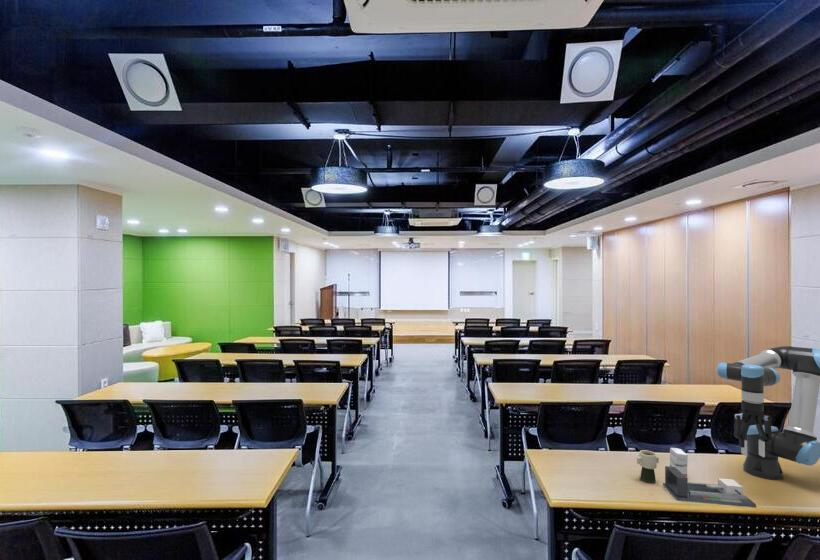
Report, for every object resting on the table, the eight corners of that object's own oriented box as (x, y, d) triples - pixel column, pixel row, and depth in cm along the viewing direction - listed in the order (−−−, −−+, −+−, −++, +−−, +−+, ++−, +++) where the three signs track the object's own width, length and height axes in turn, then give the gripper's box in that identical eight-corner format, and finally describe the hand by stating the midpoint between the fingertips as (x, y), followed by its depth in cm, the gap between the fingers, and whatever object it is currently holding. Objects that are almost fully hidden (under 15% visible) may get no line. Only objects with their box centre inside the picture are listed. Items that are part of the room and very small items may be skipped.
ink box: (688, 480, 199) (688, 454, 200) (676, 478, 200) (676, 453, 201) (680, 472, 208) (680, 448, 208) (669, 471, 209) (668, 447, 209)
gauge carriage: (732, 491, 185) (732, 479, 185) (748, 503, 175) (748, 490, 175) (703, 488, 187) (702, 477, 187) (716, 500, 177) (716, 488, 177)
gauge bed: (735, 491, 188) (735, 470, 188) (756, 507, 174) (755, 484, 175) (663, 485, 193) (663, 465, 193) (677, 500, 179) (677, 478, 180)
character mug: (653, 476, 202) (653, 449, 202) (664, 483, 195) (663, 455, 195) (632, 477, 201) (632, 450, 201) (642, 484, 194) (642, 456, 194)
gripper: (771, 400, 184) (771, 453, 184) (723, 397, 187) (723, 450, 187) (783, 404, 177) (784, 460, 176) (733, 402, 180) (733, 456, 179)
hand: (752, 455), depth 181 cm, fingers open, 6 cm apart
